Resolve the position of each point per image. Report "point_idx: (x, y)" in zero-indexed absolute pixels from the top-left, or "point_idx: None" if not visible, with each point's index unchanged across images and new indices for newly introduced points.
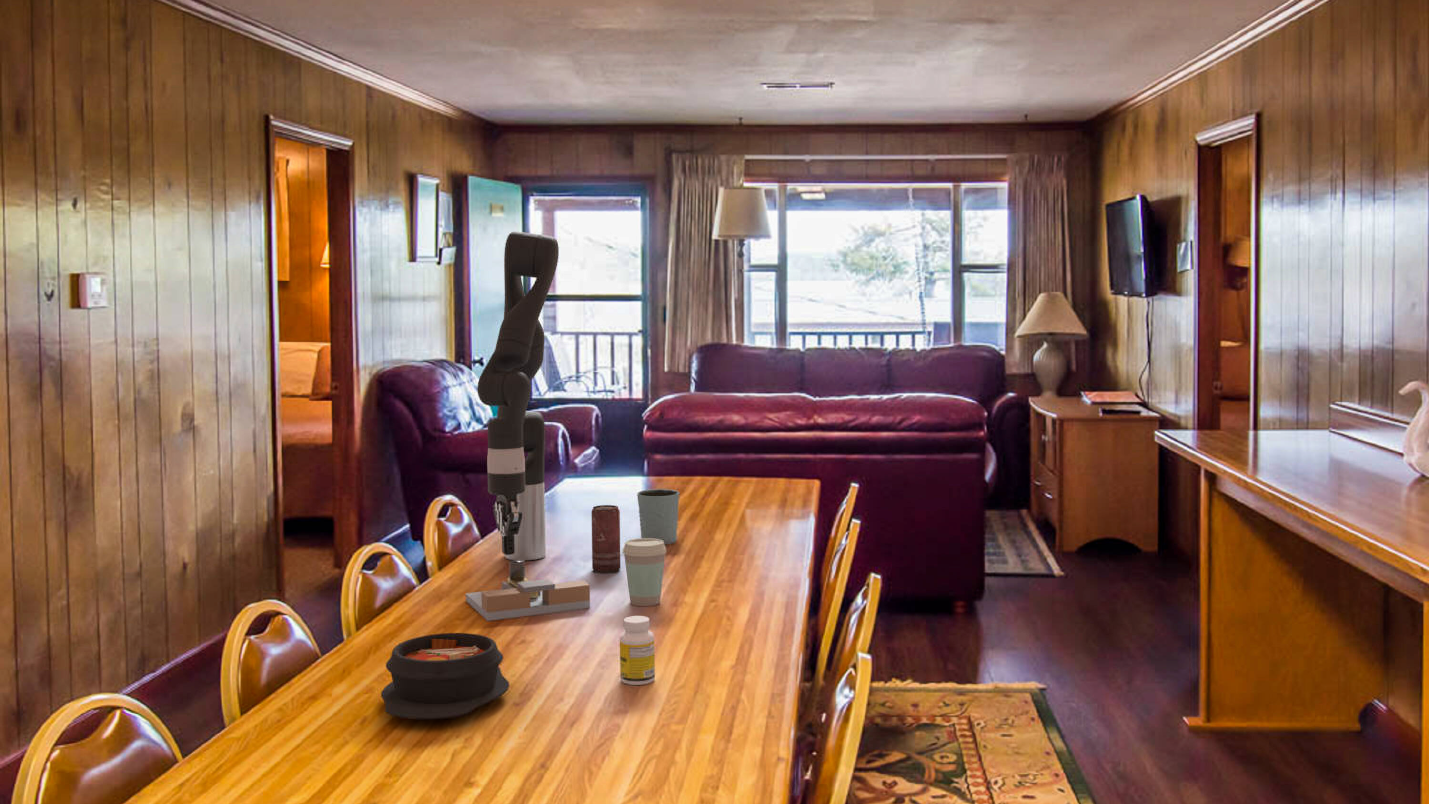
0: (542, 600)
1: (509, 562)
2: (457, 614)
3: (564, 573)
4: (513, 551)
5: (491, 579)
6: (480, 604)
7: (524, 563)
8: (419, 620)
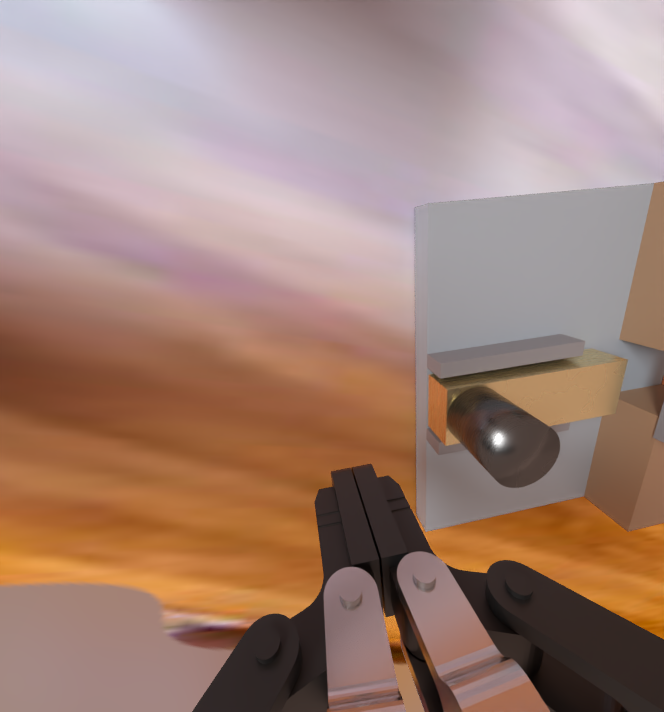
0: (621, 339)
1: (517, 485)
2: (523, 527)
3: (92, 104)
4: (388, 476)
5: (155, 442)
6: (553, 498)
7: (537, 419)
8: None
